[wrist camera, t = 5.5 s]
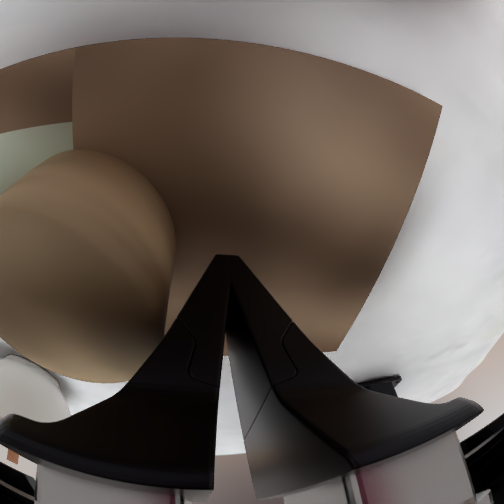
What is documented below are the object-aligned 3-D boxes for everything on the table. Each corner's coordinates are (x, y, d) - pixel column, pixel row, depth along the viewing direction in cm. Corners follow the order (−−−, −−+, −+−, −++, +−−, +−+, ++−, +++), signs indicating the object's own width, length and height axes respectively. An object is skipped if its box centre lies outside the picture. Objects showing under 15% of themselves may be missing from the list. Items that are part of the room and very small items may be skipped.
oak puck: (178, 310, 12) (172, 392, 9) (43, 296, 11) (14, 363, 7) (179, 148, 8) (151, 209, 5) (5, 157, 7) (-65, 211, 3)
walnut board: (330, 335, 16) (336, 351, 15) (2, 311, 12) (-5, 324, 12) (423, 100, 8) (442, 106, 7) (-56, 99, 4) (-71, 106, 4)
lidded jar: (57, 405, 22) (45, 477, 14) (-20, 353, 16) (-44, 428, 8) (103, 393, 19) (92, 492, 12) (-1, 322, 13) (-40, 430, 6)
